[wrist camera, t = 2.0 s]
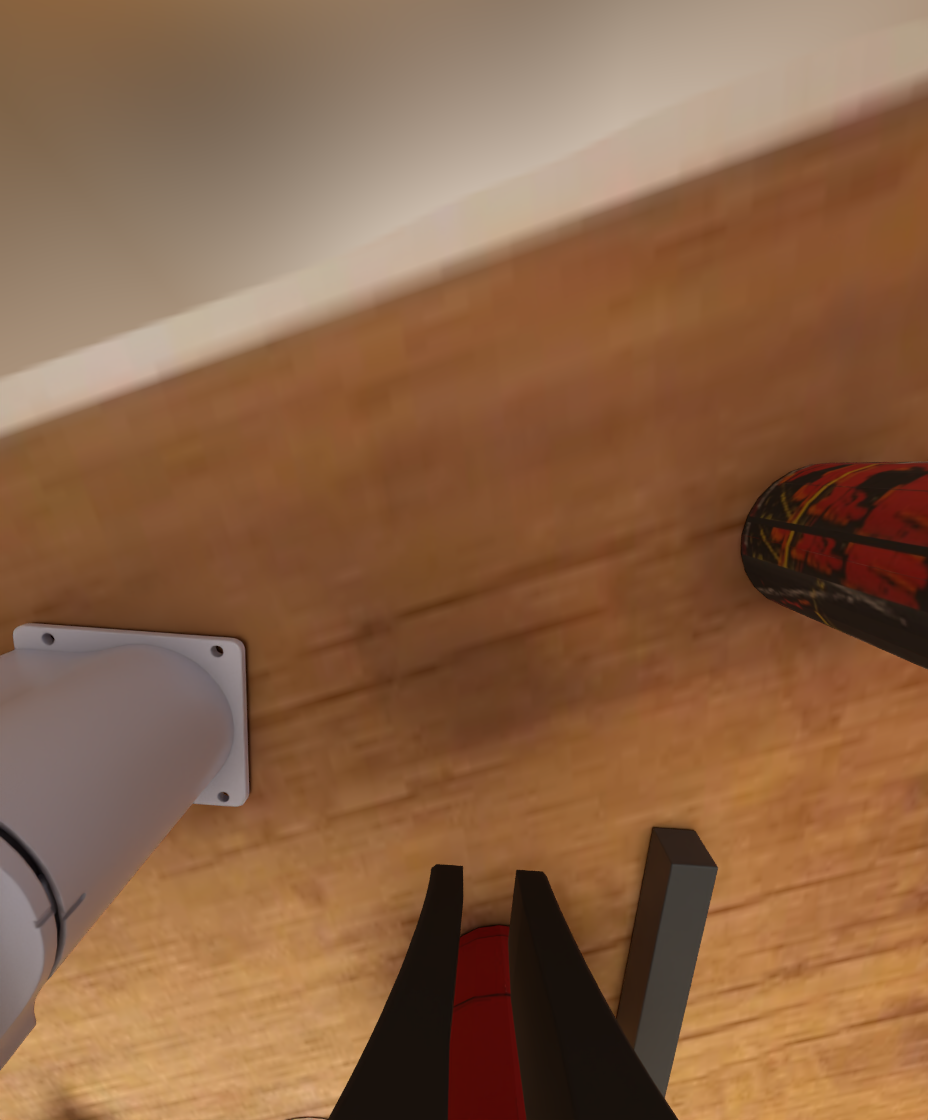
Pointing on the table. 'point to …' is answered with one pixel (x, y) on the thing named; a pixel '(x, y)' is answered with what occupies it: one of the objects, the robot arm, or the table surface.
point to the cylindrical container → (308, 1119)
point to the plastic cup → (484, 1032)
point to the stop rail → (665, 947)
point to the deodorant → (848, 550)
